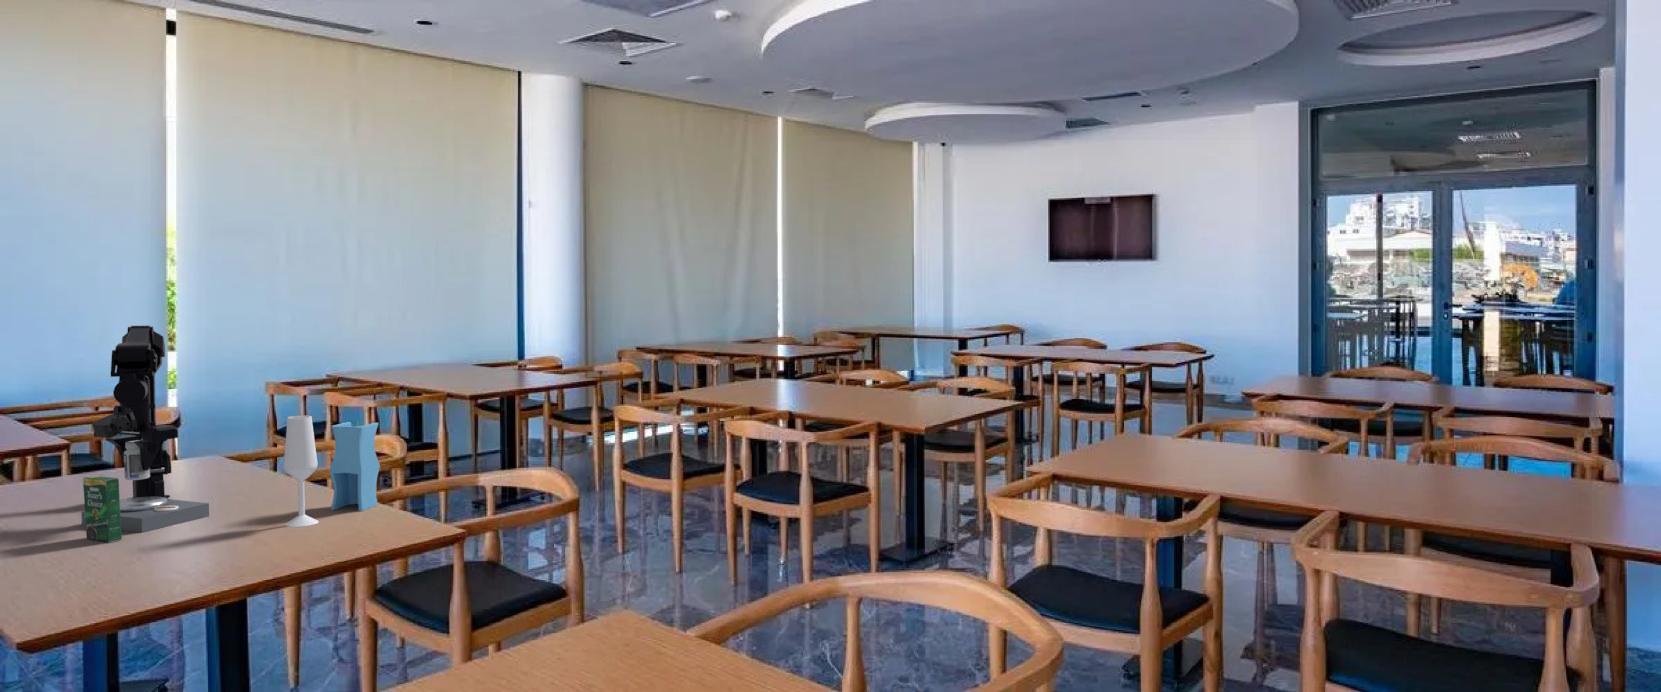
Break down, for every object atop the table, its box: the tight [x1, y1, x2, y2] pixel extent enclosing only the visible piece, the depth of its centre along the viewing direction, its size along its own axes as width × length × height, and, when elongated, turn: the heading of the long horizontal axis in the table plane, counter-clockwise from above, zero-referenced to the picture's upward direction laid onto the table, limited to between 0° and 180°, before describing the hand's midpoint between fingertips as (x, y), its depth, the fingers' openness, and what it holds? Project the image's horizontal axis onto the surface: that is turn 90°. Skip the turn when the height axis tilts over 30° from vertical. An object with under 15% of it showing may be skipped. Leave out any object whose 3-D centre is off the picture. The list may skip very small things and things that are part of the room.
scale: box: [81, 498, 210, 533], centre depth 225 cm, size 18×16×4 cm
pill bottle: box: [123, 440, 150, 481], centre depth 225 cm, size 5×5×8 cm
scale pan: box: [120, 497, 168, 512], centre depth 225 cm, size 11×11×1 cm
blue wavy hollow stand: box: [329, 421, 381, 512], centre depth 240 cm, size 8×8×20 cm
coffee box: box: [82, 475, 122, 543], centre depth 208 cm, size 8×3×13 cm, turn 66°
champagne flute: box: [283, 415, 320, 528], centre depth 223 cm, size 7×7×24 cm
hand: (137, 469), depth 225 cm, fingers closed on pill bottle, 5 cm apart
